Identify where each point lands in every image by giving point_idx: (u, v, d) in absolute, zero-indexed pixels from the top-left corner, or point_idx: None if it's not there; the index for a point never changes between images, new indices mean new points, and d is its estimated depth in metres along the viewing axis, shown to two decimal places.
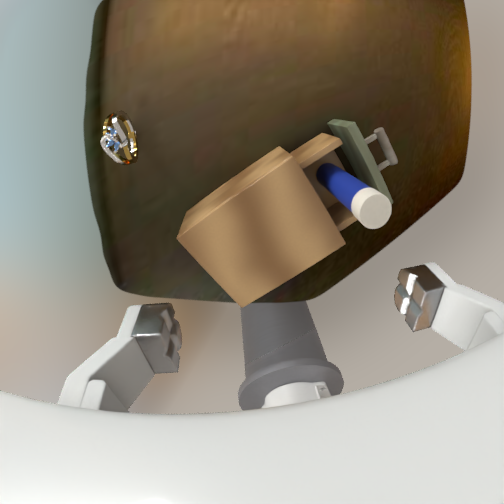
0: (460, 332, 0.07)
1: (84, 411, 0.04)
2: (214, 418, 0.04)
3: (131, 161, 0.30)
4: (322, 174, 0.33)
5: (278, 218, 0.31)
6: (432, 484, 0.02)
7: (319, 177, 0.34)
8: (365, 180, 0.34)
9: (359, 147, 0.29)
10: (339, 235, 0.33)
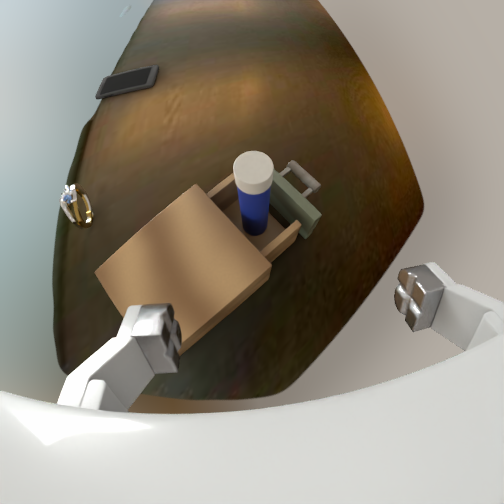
0: (460, 332, 0.07)
1: (84, 411, 0.04)
2: (214, 418, 0.04)
3: (79, 219, 0.34)
4: None
5: (186, 243, 0.29)
6: (432, 484, 0.02)
7: (242, 222, 0.35)
8: (292, 214, 0.35)
9: None
10: (260, 255, 0.29)
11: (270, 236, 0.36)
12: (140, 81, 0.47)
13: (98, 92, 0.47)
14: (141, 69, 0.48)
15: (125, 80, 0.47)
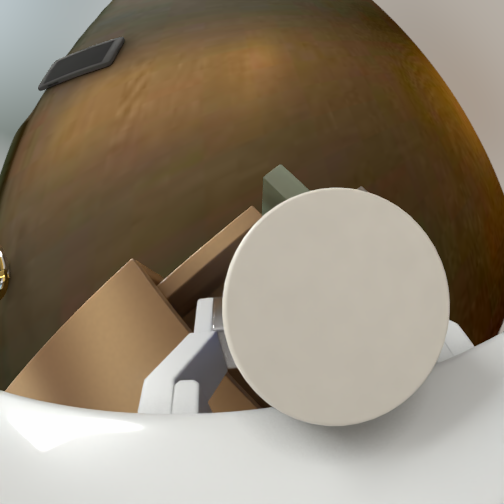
0: None
1: (84, 411, 0.04)
2: (215, 418, 0.04)
3: None
4: None
5: None
6: (432, 484, 0.02)
7: None
8: None
9: None
10: None
11: None
12: (95, 59, 0.27)
13: (42, 81, 0.27)
14: (100, 44, 0.29)
15: (77, 61, 0.28)
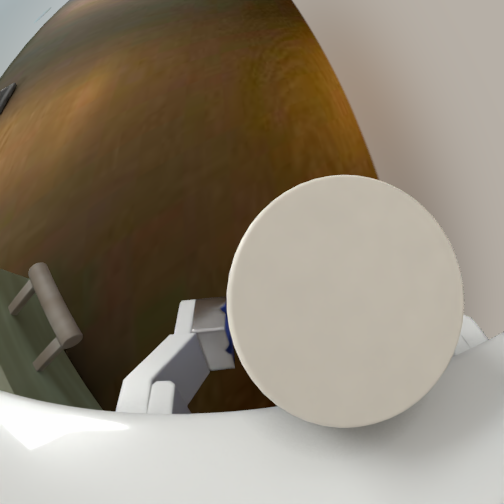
0: None
1: (84, 411, 0.04)
2: (214, 418, 0.04)
3: None
4: None
5: None
6: (432, 484, 0.02)
7: None
8: None
9: None
10: None
11: None
12: None
13: None
14: (0, 92, 0.25)
15: None
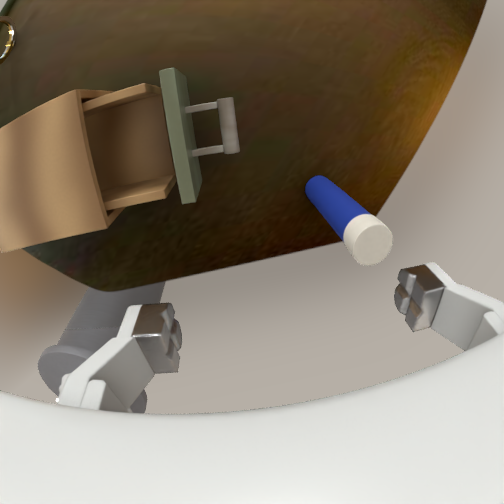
0: (460, 332, 0.07)
1: (84, 411, 0.04)
2: (214, 418, 0.04)
3: None
4: (315, 184, 0.29)
5: (40, 160, 0.18)
6: (432, 484, 0.02)
7: (310, 186, 0.30)
8: None
9: (166, 103, 0.19)
10: (100, 212, 0.22)
11: (152, 163, 0.26)
12: None
13: None
14: None
15: None
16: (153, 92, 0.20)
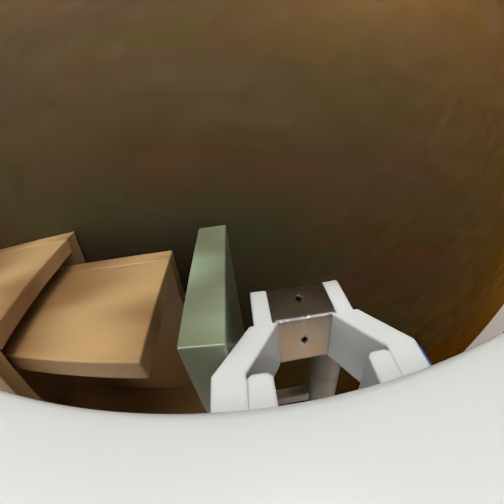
0: (357, 366, 0.07)
1: (84, 411, 0.04)
2: (214, 418, 0.04)
3: None
4: None
5: None
6: (432, 484, 0.02)
7: None
8: None
9: (209, 406, 0.08)
10: None
11: (171, 372, 0.15)
12: None
13: None
14: None
15: None
16: (160, 319, 0.09)
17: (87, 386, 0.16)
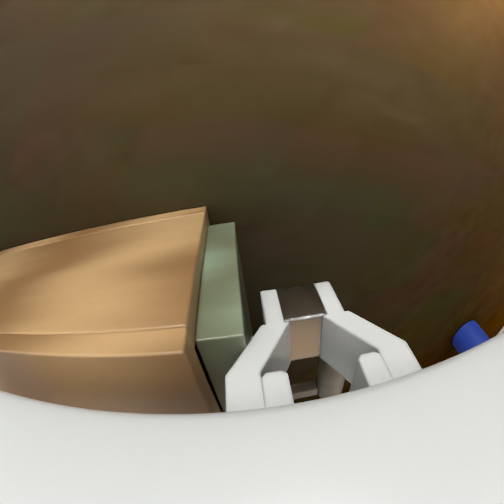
0: (348, 368, 0.07)
1: (84, 411, 0.04)
2: (214, 418, 0.04)
3: None
4: (474, 342, 0.18)
5: None
6: (432, 484, 0.02)
7: (465, 341, 0.19)
8: None
9: (224, 400, 0.08)
10: None
11: None
12: None
13: None
14: None
15: None
16: None
17: None
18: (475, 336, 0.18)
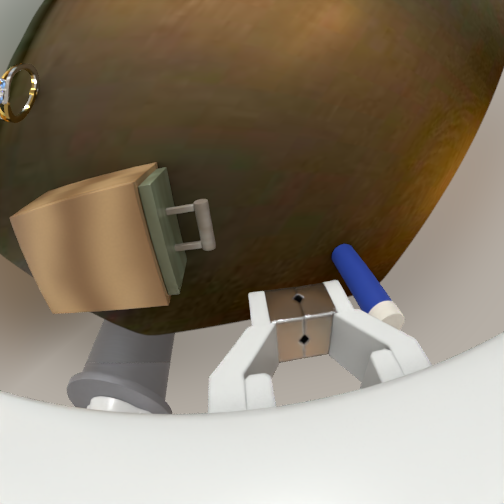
0: (358, 365, 0.07)
1: (84, 411, 0.04)
2: (214, 418, 0.04)
3: (9, 120, 0.19)
4: (342, 256, 0.33)
5: (97, 244, 0.23)
6: (432, 484, 0.02)
7: (337, 256, 0.34)
8: None
9: (147, 216, 0.23)
10: (162, 293, 0.26)
11: None
12: None
13: None
14: None
15: None
16: None
17: None
18: (344, 252, 0.34)
